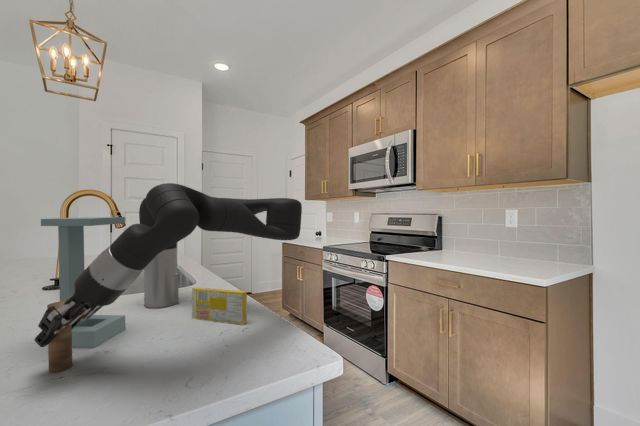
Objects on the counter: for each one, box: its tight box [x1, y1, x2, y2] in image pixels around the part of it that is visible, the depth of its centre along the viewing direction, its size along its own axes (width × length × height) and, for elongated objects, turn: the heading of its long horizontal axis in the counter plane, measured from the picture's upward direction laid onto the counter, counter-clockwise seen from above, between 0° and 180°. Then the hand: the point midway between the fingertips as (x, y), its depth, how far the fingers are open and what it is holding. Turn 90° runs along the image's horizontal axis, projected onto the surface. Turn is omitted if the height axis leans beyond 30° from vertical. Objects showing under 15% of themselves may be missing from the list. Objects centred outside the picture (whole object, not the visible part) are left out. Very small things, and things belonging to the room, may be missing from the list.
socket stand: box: [40, 216, 126, 349], centre depth 72 cm, size 11×11×28 cm
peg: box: [46, 301, 73, 374], centre depth 58 cm, size 3×3×12 cm
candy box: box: [191, 286, 248, 325], centre depth 83 cm, size 16×2×8 cm, turn 71°
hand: (49, 338), depth 58 cm, fingers closed on peg, 3 cm apart
